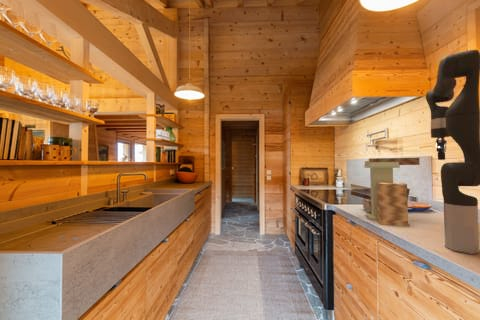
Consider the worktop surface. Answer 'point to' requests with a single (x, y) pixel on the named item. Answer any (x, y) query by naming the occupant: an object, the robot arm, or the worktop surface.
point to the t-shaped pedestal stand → (379, 181)
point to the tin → (367, 205)
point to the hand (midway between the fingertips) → (441, 159)
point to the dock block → (392, 204)
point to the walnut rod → (398, 160)
